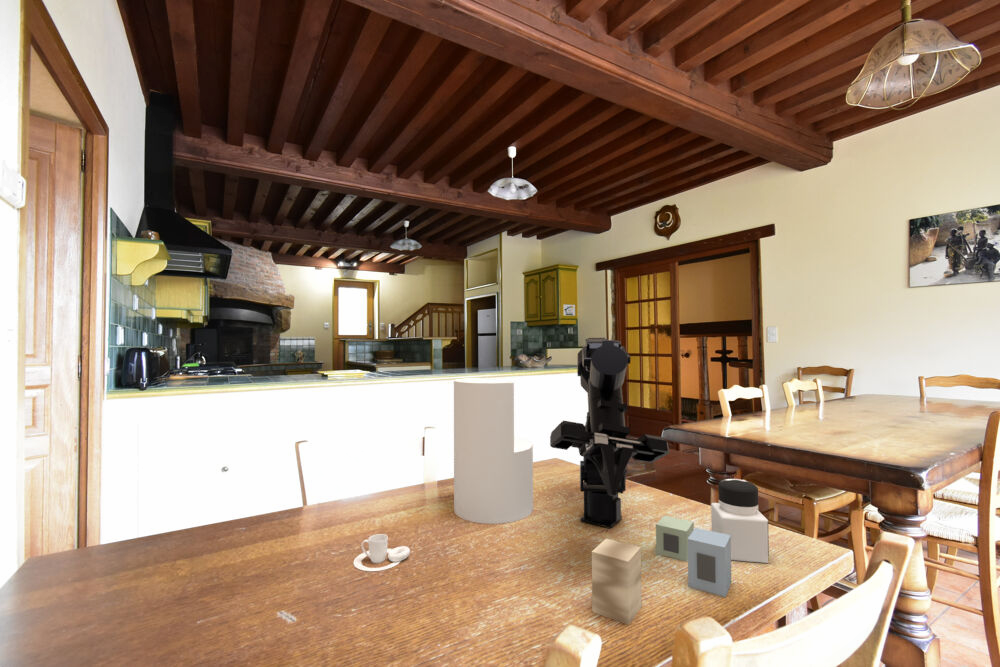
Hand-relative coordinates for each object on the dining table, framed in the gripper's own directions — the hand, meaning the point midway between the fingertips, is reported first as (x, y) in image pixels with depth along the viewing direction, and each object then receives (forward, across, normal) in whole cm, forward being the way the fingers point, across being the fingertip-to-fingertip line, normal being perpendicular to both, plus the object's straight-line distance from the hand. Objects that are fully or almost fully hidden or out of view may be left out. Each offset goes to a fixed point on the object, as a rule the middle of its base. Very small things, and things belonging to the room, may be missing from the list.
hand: (612, 495), depth 70 cm
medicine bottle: (+5, -26, -7) cm, 28 cm away
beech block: (+15, +1, 0) cm, 15 cm away
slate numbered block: (+11, -15, -1) cm, 19 cm away
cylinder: (-4, +11, -35) cm, 37 cm away
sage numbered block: (+5, -16, -10) cm, 20 cm away
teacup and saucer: (+12, +32, -18) cm, 38 cm away
